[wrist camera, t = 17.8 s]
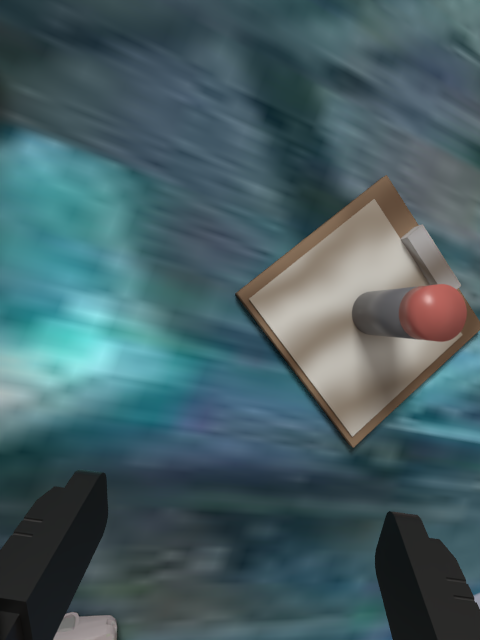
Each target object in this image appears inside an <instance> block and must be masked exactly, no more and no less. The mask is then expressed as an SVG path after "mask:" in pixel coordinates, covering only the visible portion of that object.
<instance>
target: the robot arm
mask: <svg viewBox="0 0 480 640" xmlns="http://www.w3.org/2000/svg"><path fill="white" fill-rule="evenodd" d="M107 518H108V501H107V481H106V474H105V473H102V472H94V471H87V470H77V471H76V472H75V473H74V474H73V476H72V477H71V479H70V480H69V482H68V483H67V485H66V486H65V488H62V487H53V488H52V489H51V490H49V491H48V492H47V493H45V494H44V495H43V496H42V497H40V498H39V499H38V500H37V501H36V502H35V503H34V505H33V506H32V507H31V509H30V510H29V512H28V513H27V514H26V516H25V517H24V520H23V521H21V523H20V524H19V525H18V527H17V528H16V529H15V531H14V534H13V535H11V536H10V538H9V539H8V540H7V542H6V543H5V545H4V546H3V547H2V549H1V550H0V640H53V639H54V637H55V635H56V633H57V630H58V628H59V626H60V624H61V622H62V620H63V618H64V616H65V614H66V612H67V609H68V607H69V605H70V603H71V601H72V599H73V597H74V595H75V593H76V590H77V588H78V586H79V584H80V582H81V580H82V578H83V576H84V574H85V572H86V569H87V567H88V565H89V563H90V561H91V559H92V557H93V555H94V553H95V551H96V548H97V546H98V544H99V542H100V540H101V538H102V536H103V533H104V530H105V527H106V523H107ZM375 568H376V575H377V579H378V583H379V587H380V591H381V595H382V599H383V603H384V607H385V611H386V615H387V619H388V622H389V626H390V630H391V634H392V638H393V640H480V609H479V607H478V605H477V603H475V601H474V596H473V594H472V592H471V590H470V588H469V586H468V584H466V579H465V577H464V575H463V573H462V571H461V568H460V566H459V564H458V562H457V560H456V558H455V557H454V556H453V555H452V554H451V552H450V551H449V550H448V549H447V548H446V547H445V545H444V544H443V543H442V542H441V541H440V540H439V539H433V538H429V537H428V534H427V532H426V530H425V527H424V525H423V523H422V520H421V519H420V517H419V516H418V515H413V514H405V513H398V512H390V511H389V512H388V513H387V515H386V518H385V521H384V524H383V528H382V531H381V535H380V538H379V541H378V545H377V548H376V553H375Z"/></svg>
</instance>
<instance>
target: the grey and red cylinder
mask: <svg viewBox="0 0 480 640" xmlns="http://www.w3.org/2000/svg"><path fill="white" fill-rule="evenodd" d="M466 317H467V308H466V304H465V301H464V298H463V297H462V295H461V294H460V292H459V291H458V290H457V289H455V288H454V287H452V286H450V285H446V284H437V285H428V286H418V287H409V288H399V289H389V290H380V291H370V292H366V293H363V294H362V295H360V296H359V297H358V298H357V299H356V301H355V302H354V305H353V308H352V319H353V322H354V324H355V326H356V327H357V328H358V329H359V330H360V331H361V332H363V333H365V334H368V335H377V336H387V337H397V338H407V339H417V340H427V341H437V342H445V341H449V340H451V339H453V338H455V337H456V336H457V335H458V334H459V333H460V332H461V330H462V329H463V327H464V325H465V322H466Z"/></svg>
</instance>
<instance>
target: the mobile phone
mask: <svg viewBox="0 0 480 640" xmlns="http://www.w3.org/2000/svg"><path fill="white" fill-rule="evenodd" d="M53 640H117V623H116V619H115V618H114V617H112V616H111V615H97V616H80V617H79V615H78V613H75V612H71V613H67V614H65V616H64V618H63V620H62V622H61V624H60V626H59V628H58V630H57V633H56V635H55V637H54V639H53Z"/></svg>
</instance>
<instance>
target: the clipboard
mask: <svg viewBox="0 0 480 640" xmlns="http://www.w3.org/2000/svg"><path fill="white" fill-rule="evenodd" d="M437 284H446V285H450V286H452V287H454V288H455V289H457V290H458V291H459V292H460V294H461V295H462V293H461V291H460V290H459V287H460V286H461V284H460V282H459V281H458V279H457V278H456V276H455V275H454V273H453V271H452V270H451V268H450V267H449V265H448V264H447V262H446V260H445V259H444V257H443V256H442V254H441V252H440V251H439V249H438V248H437V246H436V245H435V243H434V241H433V240H432V238H431V237H430V235H429V233H428V232H427V230H426V229H425V227H424V226H423V225H418V224H417V222H416V221H415V219H414V217H413V216H412V214H411V213H410V211H409V210H408V208H407V206H406V205H405V203H404V202H403V200H402V198H401V197H400V195H399V194H398V192H397V191H396V189H395V187H394V186H393V184H392V183H391V181H390V180H389V178H388V176H387V175H386V176H384V177H382V178H381V179H380V180H378V181H377V182H376V183H375V184H373V185H372V186H371V187H370V188H368V189H367V190H366V191H365V192H363V193H362V194H361V195H359V196H358V197H357V198H356V199H354V200H353V201H352V202H351V203H349V204H348V205H347V206H346V207H344V208H343V209H342V210H340V211H339V212H338V213H337V214H335V215H334V216H333V217H332V218H330V219H329V220H328V221H327V222H325V223H324V224H323V225H321V226H320V227H319V228H318V229H316V230H315V231H314V232H313V233H311V234H310V235H309V236H308V237H306V238H305V239H304V240H302V241H301V242H300V243H299V244H297V245H296V246H295V247H294V248H292V249H291V250H290V251H289V252H287V253H286V254H285V255H283V256H282V257H281V258H280V259H278V260H277V261H276V262H275V263H273V264H272V265H271V266H270V267H268V268H267V269H266V270H264V271H263V272H262V273H261V274H259V275H258V276H257V277H256V278H254V279H253V280H252V281H251V282H249V283H248V284H247V285H246V286H244V287H243V288H242V289H240V290H239V291H238V292H237V293H235V294H236V296H237V297H238V298H239V299H240V301H241V302H242V303H243V305H244V306H245V307H246V309H247V310H248V311H249V313H250V314H251V315H252V317H253V318H254V319H255V321H256V322H257V323H258V325H259V326H260V327H261V329H262V330H263V331H264V333H265V334H266V335H267V337H268V338H269V339H270V341H271V342H272V343H273V344H274V346H275V347H276V348H277V350H278V351H279V352H280V354H281V355H282V356H283V358H284V359H285V360H286V362H287V363H288V364H289V366H290V367H291V368H292V370H293V371H294V372H295V374H296V375H297V376H298V378H299V379H300V380H301V382H302V383H303V384H304V386H305V387H306V388H307V390H308V391H309V392H310V393H311V395H312V396H313V397H314V399H315V400H316V401H317V403H318V404H319V405H320V407H321V408H322V409H323V411H324V412H325V413H326V415H327V416H328V417H329V419H330V420H331V421H332V423H333V424H334V425H335V427H336V428H337V429H338V431H339V432H340V433H341V435H342V436H343V437H344V438H345V440H346V441H347V442H348V444H349V445H350V446H352V447H353V448H354V447H355V446H356V445H357V444H358V443H359V442H360V441H361V440H362V439H363V438H364V437H365V436H366V435H367V434H369V433H370V432H371V431H372V430H373V429H374V428H375V427H376V426H377V425H378V424H379V423H380V422H381V421H383V420H384V419H385V418H386V417H387V416H388V415H389V414H390V413H391V412H392V411H393V410H394V409H395V408H396V407H398V406H399V405H400V404H401V403H402V402H403V401H404V400H405V399H406V398H407V397H408V396H409V395H410V394H412V393H413V392H414V391H415V390H416V389H417V388H418V387H419V386H420V385H421V384H422V383H423V382H424V381H426V380H427V379H428V378H429V377H430V376H431V375H432V374H433V373H434V372H435V371H436V370H437V369H438V368H439V367H441V366H442V365H443V364H444V363H445V362H446V361H447V360H448V359H449V358H450V357H451V356H452V355H453V354H455V353H456V352H457V351H458V350H459V349H460V348H461V347H462V346H463V345H464V344H465V343H466V342H467V341H468V340H470V339H471V338H472V337H473V336H474V335H475V334H476V333H477V332H478V331H479V330H480V321H479V320H478V318H477V317H476V315H475V313H474V312H473V310H472V309H471V307H470V306H469V304H468V302H467V301H466V299H465V298H464V296H463V295H462V297H463V298H464V301H465V304H466V308H467V317H466V322H465V325H464V327H463V329H462V330H461V332H460V333H459V334H458V335H457V336H456V337H455V338H453V339H451V340H449V341H445V342H437V341H427V340H417V339H407V338H397V337H387V336H377V335H368V334H365V333H363V332H361V331H360V330H359V329H358V328H357V327H356V326H355V324H354V322H353V319H352V308H353V305H354V302H355V301H356V299H357V298H358V297H359V296H360V295H362V294H363V293H366V292H370V291H380V290H389V289H399V288H409V287H418V286H428V285H437Z"/></svg>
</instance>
